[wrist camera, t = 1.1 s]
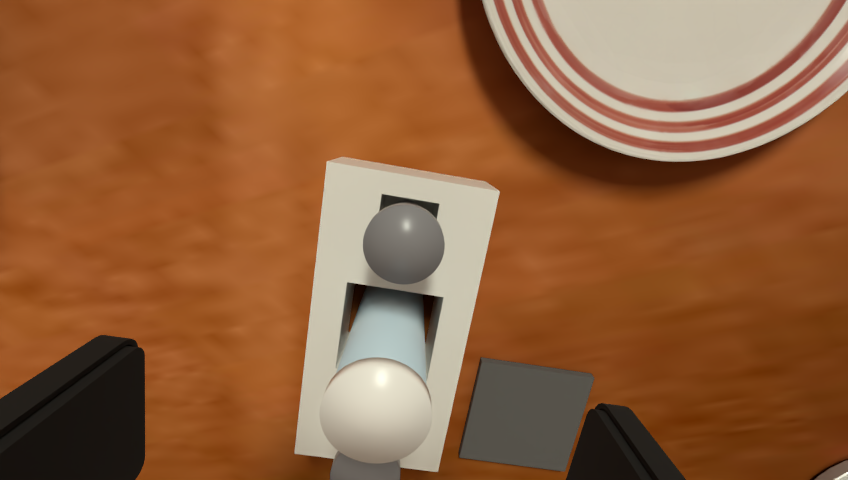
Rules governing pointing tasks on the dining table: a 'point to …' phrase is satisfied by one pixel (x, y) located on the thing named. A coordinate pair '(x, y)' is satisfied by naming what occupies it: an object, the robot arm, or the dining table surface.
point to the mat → (524, 414)
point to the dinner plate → (677, 69)
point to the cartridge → (380, 381)
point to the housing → (393, 285)
